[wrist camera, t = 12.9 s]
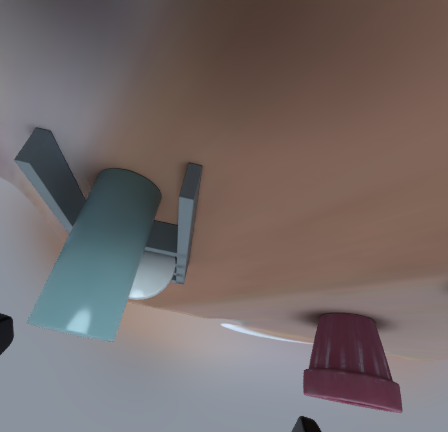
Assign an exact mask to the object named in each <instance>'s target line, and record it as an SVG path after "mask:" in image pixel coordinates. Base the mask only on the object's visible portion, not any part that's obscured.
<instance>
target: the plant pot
mask: <svg viewBox="0 0 448 432" xmlns="http://www.w3.org/2000/svg"><path fill="white" fill-rule="evenodd" d="M303 382H304V383H303V384H304V385H303V388H304V395H307V396H311V397H316V398H321V399H325V400H330V401H335V402H340V403H345V404H350V405H355V406H360V407H365V408H371V409H377V410H383V411H390V412H397V413H401V412H402V403H401V394H400V387H399V384H397V383H395V382H393V380H392V377H391V373H390V370H389V366H388V363H387V359H386V356H385V353H384V350H383V346H382V343H381V340H380V337H379V334H378V331H377V328H376V325H375V322H374V321H373V320H372V319H370V318H368V317H365V316H361V315H355V314H347V313H330V314H325V315H322V316H320V318H319V322H318V327H317V331H316V335H315V340H314V344H313V349H312V354H311V359H310V365H309V369H306V370H304V381H303Z"/></svg>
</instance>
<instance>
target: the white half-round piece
mask: <svg viewBox="0 0 448 432" xmlns="http://www.w3.org/2000/svg"><path fill="white" fill-rule="evenodd" d="M174 271H175V256H170V255H165V254H161V253H156V252H151V251H146V250H144V252H143V255H142V258H141V261H140V264H139V267H138V270H137V273H136V276H135V279H134V282H133V285H132V288H131V291H130V294H129V297H128V298H129V299H135V300H141V299H147V298H150V297H153V296H155V295H157V294H158V293H160V292H161V291H163V290H164V289H165V288H166V287H167V285H168V284H169V283H170V281H171V279H172V277H173V274H174Z"/></svg>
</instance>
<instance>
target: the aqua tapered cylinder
mask: <svg viewBox="0 0 448 432" xmlns="http://www.w3.org/2000/svg"><path fill="white" fill-rule="evenodd" d="M160 201H161V193H160V191H159V189H158V188H157V187H156V186H155V185H154V184H153V183H152V182H151V181H149V180H148V179H146V178H145V177H143V176H141V175H139V174H136V173H134V172H131V171H128V170H123V169H106V170H103V171H102V172H100V173H99V175H98V177H97V179H96V181H95V183H94V185H93V187H92V189H91V191H90V193H89V195H88V197H87V199H86V201H85V204H84V206H83V208H82V210H81V212H80V214H79V216H78V218H77V220H76V222H75V224H74V226H73V228H72V230H71V232H70V234H69V236H68V238H67V240H66V242H65V244H64V247H63V249H62V251H61V253H60V255H59V257H58V259H57V261H56V263H55V265H54V267H53V269H52V271H51V273H50V275H49V277H48V279H47V281H46V283H45V285H44V287H43V289H42V292H41V294H40V296H39V298H38V300H37V302H36V304H35V306H34V308H33V310H32V312H31V314H30V316H29V318H28V320H27V323H28V324H31V325H34V326H37V327H41V328H45V329H49V330H53V331H57V332H61V333H66V334H70V335H75V336H80V337H85V338H91V339H96V340H101V341H109V342H114V339H115V336H116V333H117V330H118V327H119V324H120V321H121V318H122V315H123V312H124V309H125V306H126V303H127V300H128V297H129V294H130V291H131V288H132V285H133V282H134V279H135V276H136V273H137V270H138V267H139V264H140V261H141V258H142V255H143V252H144V249H145V246H146V243H147V240H148V237H149V234H150V231H151V228H152V225H153V222H154V219H155V216H156V213H157V210H158V207H159V204H160Z"/></svg>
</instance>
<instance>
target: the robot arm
mask: <svg viewBox="0 0 448 432" xmlns="http://www.w3.org/2000/svg"><path fill="white" fill-rule="evenodd" d="M13 338H14V331H13V319H12V318H11V317H10V316H7V315H4V314H1V313H0V355H1V354H2V353H3V352H4V351H5V350H6V349H7V348H8V347H9V345H10V344H11V342H12V340H13ZM292 432H321V430H320V428H319V426H318V425H317V423H316V422H315V421H314V420H313V419H310V418H307V417H304V416H300V417H299V418H298V420H297V422H296V424H295V426H294V428H293V430H292Z"/></svg>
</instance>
